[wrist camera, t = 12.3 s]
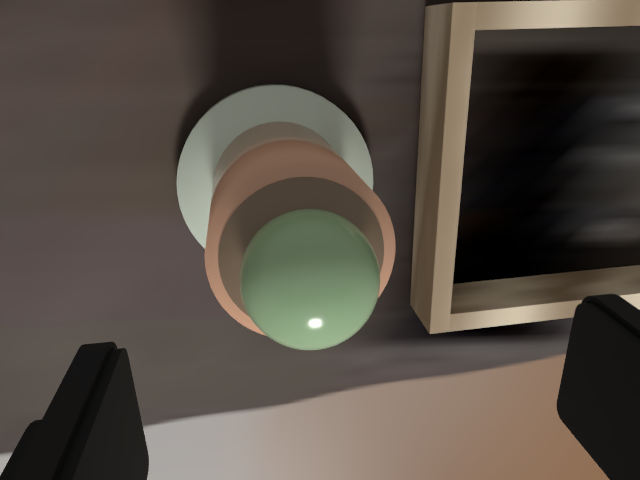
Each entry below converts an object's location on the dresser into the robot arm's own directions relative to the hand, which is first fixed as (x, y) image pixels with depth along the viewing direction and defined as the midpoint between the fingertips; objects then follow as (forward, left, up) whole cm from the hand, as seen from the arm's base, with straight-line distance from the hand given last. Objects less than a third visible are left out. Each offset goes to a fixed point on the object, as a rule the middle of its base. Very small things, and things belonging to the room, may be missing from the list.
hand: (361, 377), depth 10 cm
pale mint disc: (+1, 0, -15) cm, 15 cm away
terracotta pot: (0, 0, -14) cm, 14 cm away
